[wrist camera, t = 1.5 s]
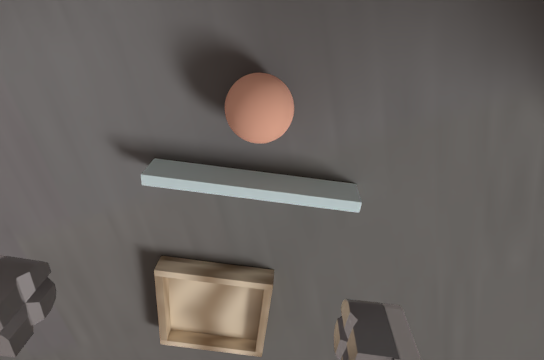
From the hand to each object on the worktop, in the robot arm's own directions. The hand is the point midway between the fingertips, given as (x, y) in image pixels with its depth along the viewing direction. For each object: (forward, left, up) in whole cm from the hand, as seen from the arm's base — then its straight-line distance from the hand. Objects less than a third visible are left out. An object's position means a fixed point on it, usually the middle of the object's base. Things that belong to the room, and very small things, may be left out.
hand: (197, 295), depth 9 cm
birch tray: (+3, +24, -20) cm, 31 cm away
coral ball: (0, 0, -17) cm, 17 cm away
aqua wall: (0, +7, -20) cm, 21 cm away
